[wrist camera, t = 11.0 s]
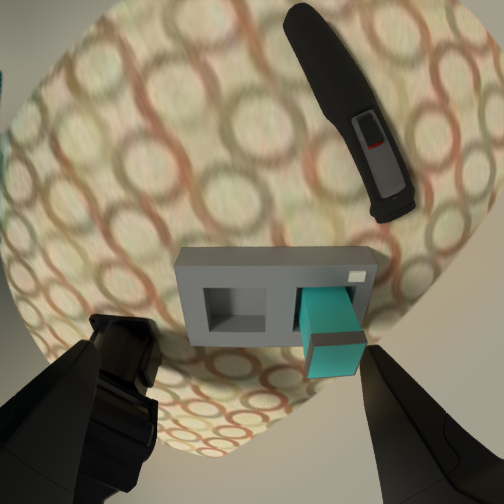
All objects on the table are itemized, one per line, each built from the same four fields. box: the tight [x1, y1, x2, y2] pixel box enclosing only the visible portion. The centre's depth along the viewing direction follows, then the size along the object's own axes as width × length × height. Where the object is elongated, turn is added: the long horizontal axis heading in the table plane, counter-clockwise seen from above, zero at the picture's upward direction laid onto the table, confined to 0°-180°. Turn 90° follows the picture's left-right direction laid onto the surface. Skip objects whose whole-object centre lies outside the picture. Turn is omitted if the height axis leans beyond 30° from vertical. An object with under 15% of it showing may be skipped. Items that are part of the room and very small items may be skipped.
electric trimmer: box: [283, 3, 416, 224], centre depth 16 cm, size 4×16×3 cm, turn 31°
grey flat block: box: [174, 247, 378, 347], centre depth 23 cm, size 14×8×3 cm, turn 91°
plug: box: [297, 286, 368, 379], centre depth 20 cm, size 3×3×7 cm
